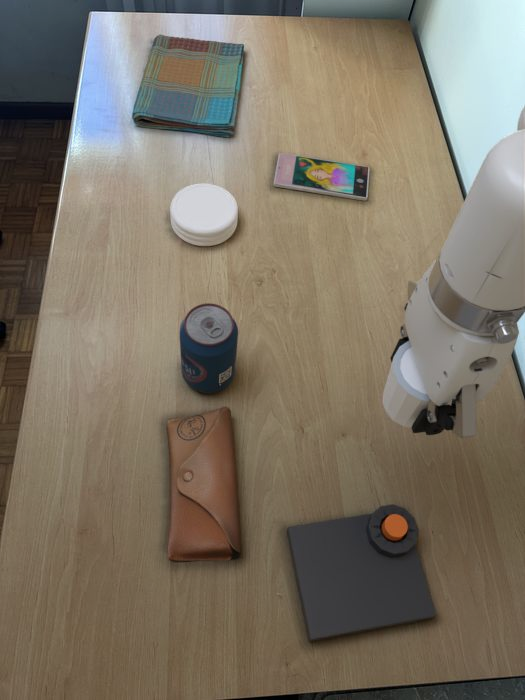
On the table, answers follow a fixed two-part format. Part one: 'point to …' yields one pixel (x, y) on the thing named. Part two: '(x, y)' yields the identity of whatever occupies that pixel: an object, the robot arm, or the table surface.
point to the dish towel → (190, 86)
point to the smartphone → (322, 176)
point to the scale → (358, 575)
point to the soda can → (208, 347)
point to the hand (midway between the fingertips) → (416, 393)
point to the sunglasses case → (203, 488)
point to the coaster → (204, 214)
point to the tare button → (394, 527)
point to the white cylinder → (405, 388)
